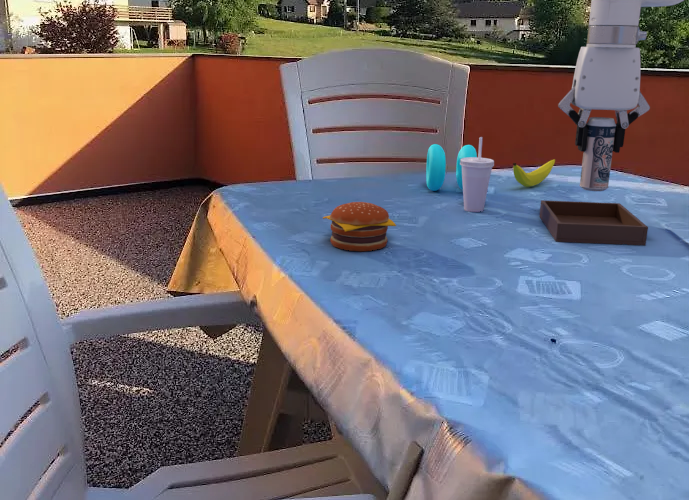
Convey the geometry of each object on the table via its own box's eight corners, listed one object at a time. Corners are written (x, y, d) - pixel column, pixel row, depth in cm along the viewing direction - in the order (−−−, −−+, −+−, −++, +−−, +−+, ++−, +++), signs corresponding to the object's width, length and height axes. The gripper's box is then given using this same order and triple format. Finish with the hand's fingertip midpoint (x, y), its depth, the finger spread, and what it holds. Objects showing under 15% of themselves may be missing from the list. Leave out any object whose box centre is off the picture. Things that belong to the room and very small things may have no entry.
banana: (558, 181, 166) (561, 154, 164) (517, 192, 152) (520, 163, 150) (546, 179, 168) (549, 152, 166) (505, 190, 154) (508, 161, 152)
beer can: (596, 193, 118) (604, 120, 115) (573, 188, 122) (580, 117, 118) (614, 190, 121) (623, 119, 117) (591, 185, 125) (599, 116, 121)
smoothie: (474, 215, 132) (479, 140, 128) (450, 208, 137) (454, 136, 133) (497, 210, 136) (503, 137, 132) (473, 204, 141) (478, 133, 137)
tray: (617, 219, 131) (619, 203, 130) (645, 245, 115) (648, 227, 114) (539, 216, 132) (540, 200, 131) (555, 241, 116) (557, 223, 115)
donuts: (424, 185, 158) (427, 140, 155) (469, 186, 158) (472, 141, 155) (428, 195, 149) (430, 147, 146) (476, 196, 148) (479, 148, 145)
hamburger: (347, 255, 107) (347, 212, 105) (320, 239, 115) (320, 199, 113) (400, 248, 111) (401, 206, 109) (371, 233, 119) (371, 194, 117)
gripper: (658, 39, 117) (643, 149, 122) (553, 37, 119) (543, 146, 124) (674, 39, 110) (657, 156, 115) (562, 37, 111) (550, 152, 117)
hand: (598, 149), depth 119 cm, fingers closed on beer can, 4 cm apart
